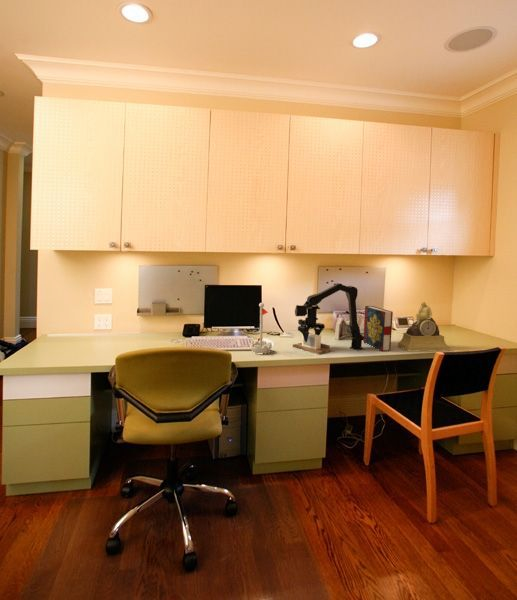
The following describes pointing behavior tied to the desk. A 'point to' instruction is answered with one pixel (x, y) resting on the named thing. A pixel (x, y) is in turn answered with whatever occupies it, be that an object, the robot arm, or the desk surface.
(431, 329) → the decorative clock
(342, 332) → the decorative sign
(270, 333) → the desk surface
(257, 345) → the flag stand
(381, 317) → the book
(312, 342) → the picture frame
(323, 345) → the picture ledge
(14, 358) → the desk surface
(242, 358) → the desk surface
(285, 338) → the desk surface
